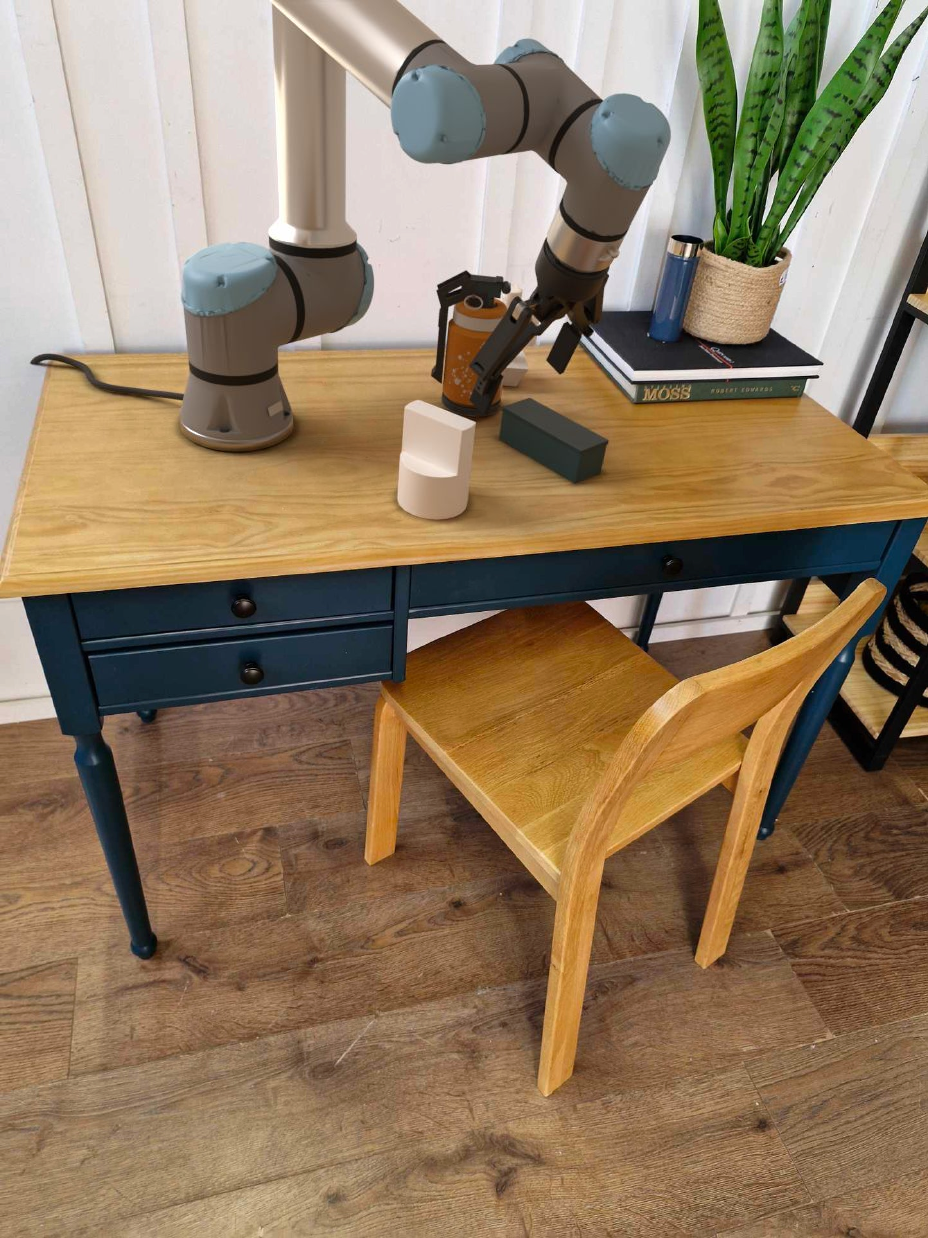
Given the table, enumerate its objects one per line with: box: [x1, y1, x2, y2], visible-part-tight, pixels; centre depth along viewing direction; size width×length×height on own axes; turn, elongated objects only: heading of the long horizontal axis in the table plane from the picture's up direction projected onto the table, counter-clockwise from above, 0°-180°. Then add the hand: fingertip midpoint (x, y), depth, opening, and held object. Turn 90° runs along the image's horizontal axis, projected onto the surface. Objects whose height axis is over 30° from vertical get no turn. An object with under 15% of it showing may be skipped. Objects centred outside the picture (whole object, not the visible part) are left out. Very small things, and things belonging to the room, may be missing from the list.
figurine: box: [502, 283, 540, 387], centre depth 145 cm, size 7×9×15 cm
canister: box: [430, 269, 512, 418], centre depth 134 cm, size 9×11×20 cm
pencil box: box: [498, 397, 610, 484], centre depth 129 cm, size 15×6×5 cm, turn 43°
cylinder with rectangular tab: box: [397, 399, 477, 521], centre depth 115 cm, size 9×9×12 cm
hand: (517, 386), depth 115 cm, fingers open, 13 cm apart
